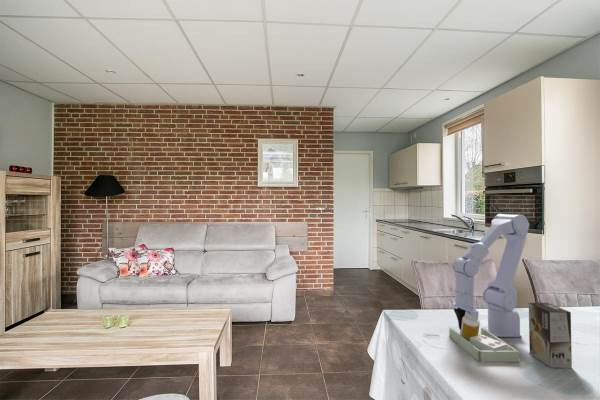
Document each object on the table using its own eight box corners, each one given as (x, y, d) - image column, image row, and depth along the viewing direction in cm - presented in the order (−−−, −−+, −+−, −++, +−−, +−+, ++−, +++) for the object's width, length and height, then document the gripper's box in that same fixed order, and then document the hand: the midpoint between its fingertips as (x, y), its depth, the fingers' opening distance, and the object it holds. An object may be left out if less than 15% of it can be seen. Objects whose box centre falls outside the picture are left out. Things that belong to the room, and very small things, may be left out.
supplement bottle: (480, 343, 104) (483, 318, 102) (463, 342, 105) (466, 317, 102) (473, 332, 109) (476, 309, 107) (457, 332, 110) (460, 308, 107)
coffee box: (573, 368, 88) (572, 312, 88) (550, 368, 88) (550, 311, 88) (548, 353, 97) (547, 302, 97) (527, 352, 97) (527, 302, 97)
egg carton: (481, 346, 102) (481, 332, 102) (506, 357, 94) (506, 342, 95) (469, 350, 99) (469, 335, 99) (494, 361, 92) (494, 345, 92)
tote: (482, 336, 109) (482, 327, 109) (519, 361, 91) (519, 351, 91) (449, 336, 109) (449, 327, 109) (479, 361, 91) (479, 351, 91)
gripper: (443, 286, 117) (442, 322, 117) (464, 297, 102) (462, 338, 102) (462, 287, 117) (460, 322, 117) (485, 298, 102) (483, 339, 102)
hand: (463, 330), depth 109 cm, fingers closed, pressing on supplement bottle
